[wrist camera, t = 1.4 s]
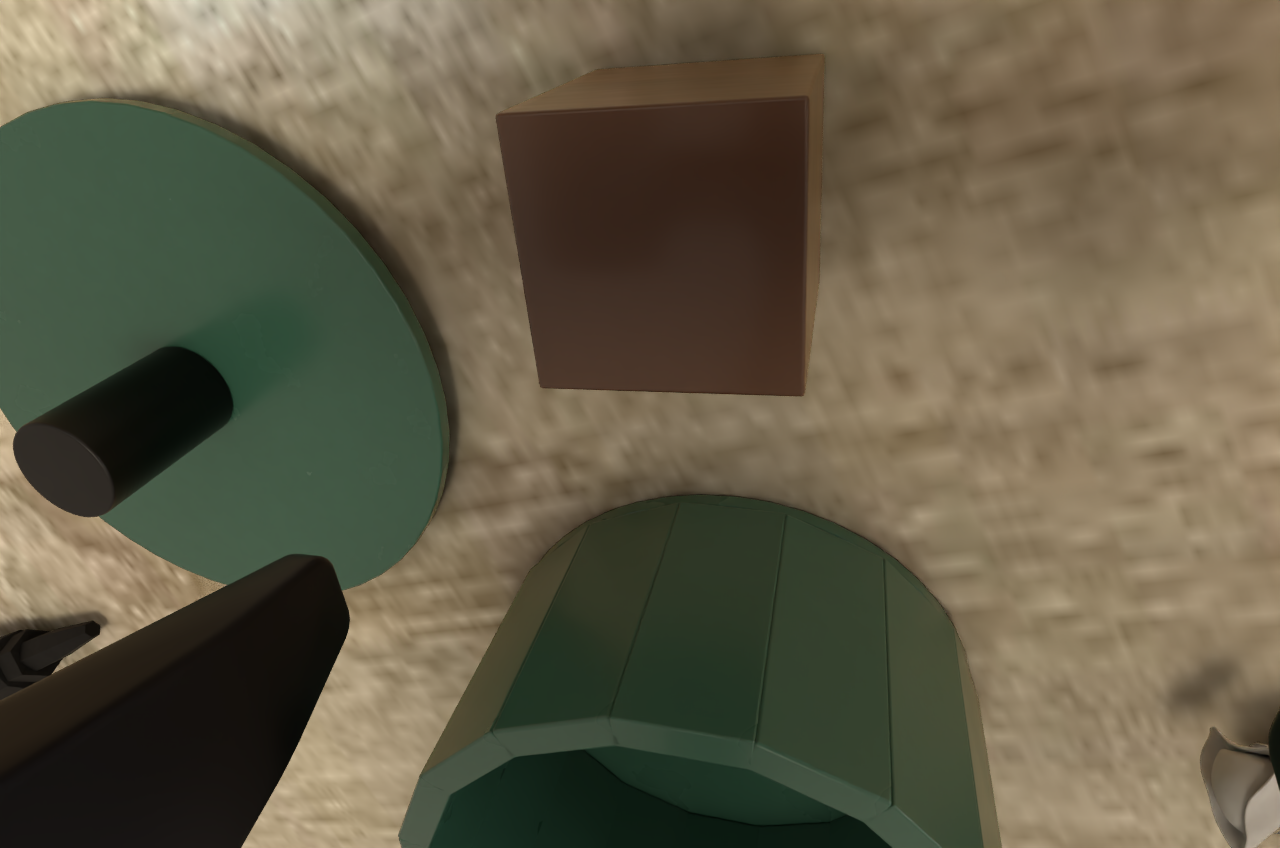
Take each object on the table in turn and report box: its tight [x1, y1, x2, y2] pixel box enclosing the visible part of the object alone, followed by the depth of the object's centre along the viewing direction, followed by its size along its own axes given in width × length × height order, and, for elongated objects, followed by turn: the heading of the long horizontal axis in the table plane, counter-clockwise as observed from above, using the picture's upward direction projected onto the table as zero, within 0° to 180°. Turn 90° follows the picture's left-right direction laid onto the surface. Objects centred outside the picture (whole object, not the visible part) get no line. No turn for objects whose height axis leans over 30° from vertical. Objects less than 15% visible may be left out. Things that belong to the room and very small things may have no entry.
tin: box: [398, 495, 1002, 848], centre depth 21 cm, size 14×14×8 cm
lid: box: [0, 98, 450, 590], centre depth 21 cm, size 15×15×5 cm
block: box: [496, 54, 825, 396], centre depth 15 cm, size 5×5×5 cm
